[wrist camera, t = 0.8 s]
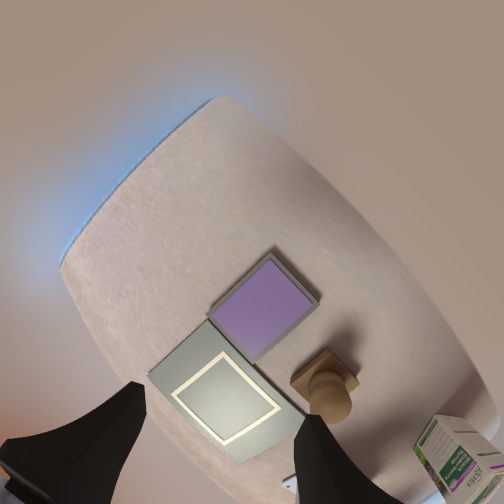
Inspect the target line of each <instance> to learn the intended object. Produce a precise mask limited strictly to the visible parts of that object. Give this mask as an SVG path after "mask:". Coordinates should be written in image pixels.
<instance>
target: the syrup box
mask: <svg viewBox="0 0 504 504" xmlns="http://www.w3.org/2000/svg"><path fill="white" fill-rule="evenodd" d="M413 450H414V452H415V453H416V455H417V456H418V458H419V459H420V461H421V462H422V464H423V466H424V467H425V469H426V470H427V472H428V473H429V475H430V477H431V478H432V480H433V481H434V483H435V485H436V486H437V488H438V489H439V491H440V493H441V494H442V496H443V498H444V499H445V501H446V502H447V504H487V503H488V501H489V499H491V497H492V496H493V495H494V494H495V493H496V492H497V490H498V489H499V488H500V487H501V486H502V484H503V483H504V454H503V453H502V452H500V451H499V450H498V449H497V448H496V447H495V446H494V445H493V444H491V443H490V442H489V441H488V440H487V439H486V438H484V437H483V436H482V435H481V434H480V433H479V432H478V431H477V430H475V429H474V428H473V427H472V426H471V425H470V424H469V423H467V422H466V421H465V420H464V419H463V418H461V417H453V416H445V415H437V414H435V415H434V416H433V418H432V421H431V422H430V424H429V425H428V427H427V428H426V430H425V431H424V433H423V435H422V436H421V438H420V439H419V441H418V442H417V444H416V445H415V446H414V448H413Z"/></svg>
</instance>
